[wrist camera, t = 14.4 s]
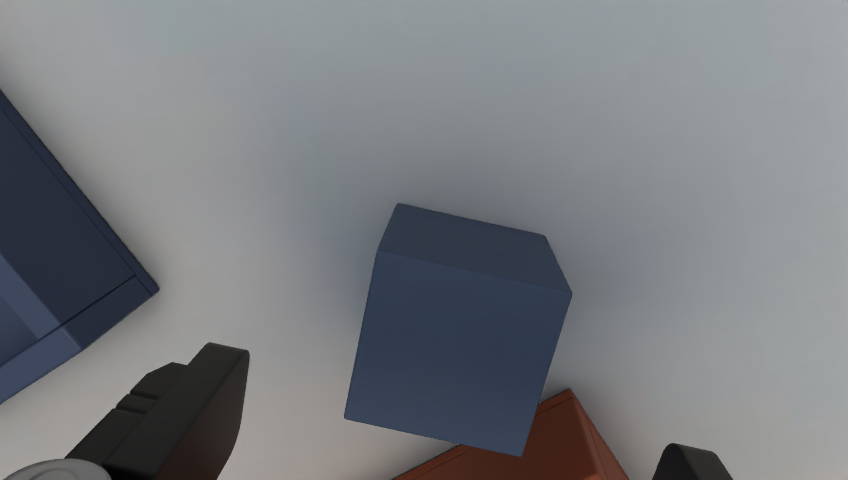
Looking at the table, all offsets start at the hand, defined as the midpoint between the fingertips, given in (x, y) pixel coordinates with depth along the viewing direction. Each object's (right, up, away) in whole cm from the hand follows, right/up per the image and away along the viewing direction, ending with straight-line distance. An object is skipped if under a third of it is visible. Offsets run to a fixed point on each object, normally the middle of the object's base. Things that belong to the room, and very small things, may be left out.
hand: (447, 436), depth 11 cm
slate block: (+1, +2, +7) cm, 7 cm away
